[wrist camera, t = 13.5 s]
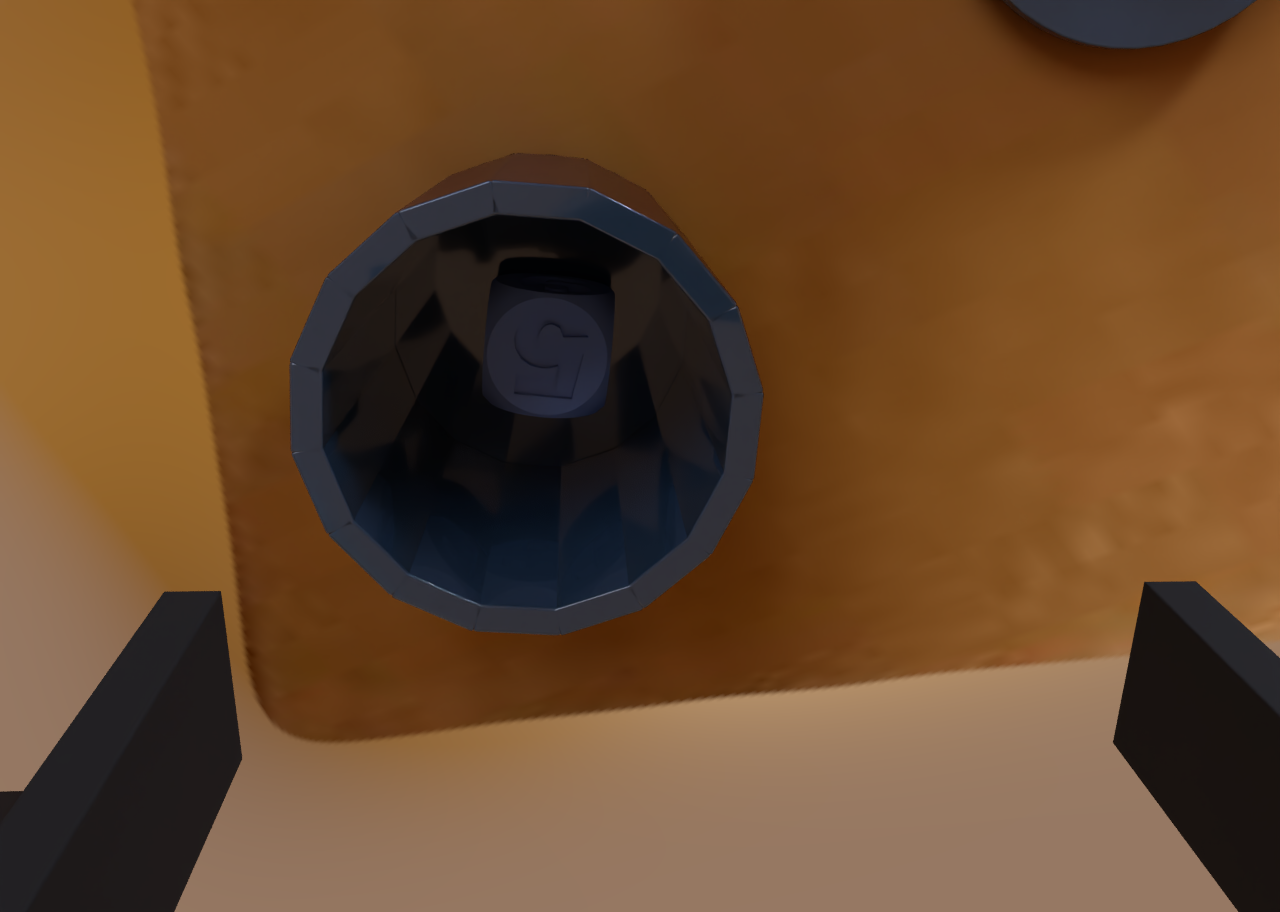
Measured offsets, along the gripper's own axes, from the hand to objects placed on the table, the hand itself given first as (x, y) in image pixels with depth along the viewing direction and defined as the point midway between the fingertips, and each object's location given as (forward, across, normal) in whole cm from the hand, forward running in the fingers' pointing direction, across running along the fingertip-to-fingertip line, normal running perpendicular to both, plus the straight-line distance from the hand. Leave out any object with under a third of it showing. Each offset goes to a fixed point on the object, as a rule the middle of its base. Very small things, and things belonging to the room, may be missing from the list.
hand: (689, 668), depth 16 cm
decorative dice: (+25, -2, -2) cm, 25 cm away
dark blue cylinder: (+25, -3, -2) cm, 25 cm away
